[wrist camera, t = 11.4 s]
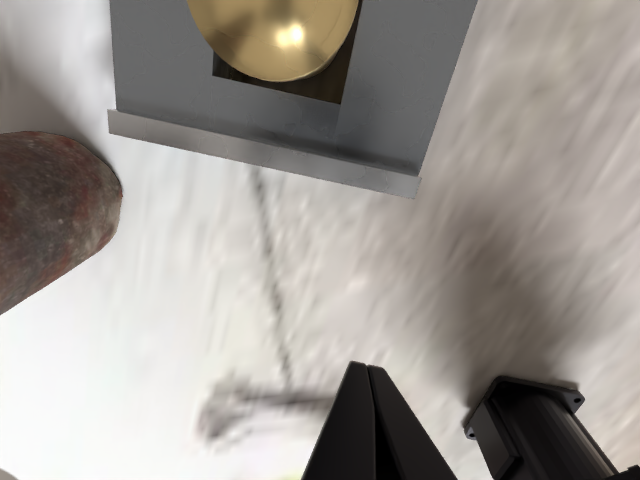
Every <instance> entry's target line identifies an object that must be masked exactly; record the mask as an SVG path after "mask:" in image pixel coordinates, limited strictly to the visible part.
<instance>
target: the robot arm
mask: <svg viewBox="0 0 640 480" xmlns="http://www.w3.org/2000/svg"><path fill="white" fill-rule="evenodd" d="M584 401H585V398H584V396H583V395H582V394H581V393H580V392H579V391H575V390H570V389H565V388H560V387H555V386H550V385H545V384H540V383H535V382H530V381H525V380H520V379H515V378H510V377H505V376H500V377H497V378H496V379H495V380H494V381H493V383H492V385H491V386H490V388H489V390H488V391H487V393H486V394H485V396H484V398H483V399H482V401H481V403H480V404H479V406H478V408H477V409H476V411H475V413H474V414H473V416H472V417H471V419H470V421H469V422H468V424H467V426H466V427H465V429H464V433H465V435H466V437H467V438H468V439H471V440H477V442H478V444H479V447H480V449H481V452H482V454H483V457H484V459H485V461H486V464H487V466H488V469H489V471H490V474H491V476H492V478H493V479H494V480H640V467H639V466H638V465H634V466H631V467H628V470H627V471H624V472H621V473H619V472H618V471H617V469H616V468H615V467H614V465H613V464H612V463H611V461H610V460H609V459H608V458H607V456H606V455H605V454H604V452H603V451H602V450H601V448H600V447H599V446H598V444H597V443H596V442H595V440H594V439H593V438H592V437H591V435H590V434H589V433H588V431H587V430H586V429H585V427H584V426H583V425H582V423H581V422H580V421H579V419H578V418H577V417H576V416H575V412H576V411H577V410H578V409H579V407H580V406H581V405H582V404H583V402H584ZM301 480H458V479H457V478H456V476H455V475H454V473H453V472H452V470H451V469H450V467H449V466H448V464H447V463H446V461H445V460H444V458H443V457H442V455H441V454H440V452H439V451H438V449H437V448H436V446H435V445H434V443H433V442H432V440H431V439H430V437H429V435H428V434H427V432H426V431H425V429H424V428H423V426H422V425H421V423H420V422H419V420H418V419H417V417H416V416H415V414H414V413H413V411H412V410H411V408H410V407H409V405H408V404H407V402H406V401H405V399H404V398H403V396H402V395H401V393H400V392H399V390H398V389H397V387H396V386H395V384H394V383H393V381H392V380H391V378H390V377H389V375H388V374H387V372H386V371H385V369H383V368H382V367H378V366H374V365H367V366H366V364H364V363H360V362H356V361H350V362H349V364H348V367H347V369H346V372H345V374H344V376H343V379H342V381H341V384H340V386H339V389H338V391H337V393H336V396H335V398H334V401H333V403H332V406H331V408H330V410H329V413H328V415H327V418H326V420H325V423H324V425H323V427H322V430H321V432H320V435H319V437H318V439H317V442H316V444H315V447H314V449H313V452H312V454H311V456H310V459H309V461H308V464H307V466H306V469H305V471H304V473H303V476H302V478H301Z"/></svg>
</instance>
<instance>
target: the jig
mask: <svg viewBox="0 0 640 480" xmlns="http://www.w3.org/2000/svg"><path fill="white" fill-rule="evenodd" d="M477 1H478V0H363V1H362V6H361V10H360V15H359V20H358V24H357V29H356V34H355V39H354V43H353V48H352V53H351V57H350V62H349V67H348V71H347V76H346V81H345V85H344V90H343V95H342V100H341V104H336V103H331V102H327V101H323V100H318V99H314V98H309V97H305V96H300V95H296V94H291V93H287V92H283V91H278V90H274V89H269V88H265V87H260V86H256V85H252V84H247V83H243V82H238V81H234V80H231V70H232V66H230V65H229V64H228V63H227V62H225V61H224V60H223V59H222V58H221V57H220V56H219V55H218V54H217V53H216V52H215V51H214V50H213V49H212V48H211V47H210V45H209V44H208V43H207V41H206V40H205V39H204V37H203V36H202V34H201V32H200V31H199V29H198V27H197V25H196V23H195V21H194V19H193V17H192V14H191V12H190V9H189V6H188V3H187V0H110V15H111V30H112V46H113V62H114V78H115V94H116V109H107V111H108V124H109V133H110V134H114V135H119V136H124V137H128V138H133V139H138V140H142V141H147V142H151V143H156V144H161V145H165V146H170V147H175V148H179V149H184V150H188V151H193V152H198V153H202V154H207V155H212V156H216V157H221V158H225V159H230V160H235V161H239V162H244V163H248V164H253V165H258V166H262V167H267V168H272V169H276V170H281V171H285V172H290V173H295V174H299V175H304V176H309V177H313V178H318V179H322V180H327V181H332V182H336V183H341V184H346V185H350V186H355V187H359V188H364V189H369V190H373V191H378V192H383V193H387V194H392V195H396V196H401V197H406V198H410V199H415V196H416V193H417V190H418V187H419V184H420V181H421V177H420V176H419V172H420V169H421V166H422V163H423V160H424V157H425V154H426V151H427V148H428V145H429V142H430V139H431V137H432V134H433V131H434V128H435V125H436V122H437V119H438V116H439V113H440V110H441V107H442V104H443V101H444V98H445V95H446V92H447V89H448V86H449V83H450V80H451V77H452V75H453V72H454V69H455V66H456V63H457V60H458V57H459V54H460V51H461V48H462V45H463V42H464V39H465V36H466V33H467V30H468V27H469V24H470V21H471V18H472V15H473V13H474V10H475V7H476V4H477Z"/></svg>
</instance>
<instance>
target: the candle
mask: <svg viewBox="0 0 640 480" xmlns="http://www.w3.org/2000/svg"><path fill="white" fill-rule="evenodd" d="M122 197H123V195H122V190H121V186H120V183H119V181H118V180H117V178H116V176H115V175H114V173H113V172H112V171H111V169H110V168H109V167H108V166H107V165H106V164H105V163H104V162H103V161H101V160H100V159H99V158H98V157H96V156H95V155H94V154H93V153H91V152H90V151H89V150H88V149H87V148H85V147H84V146H83V145H81V144H80V143H78V142H77V141H75V140H73V139H70V138H67V137H64V136H60V135H54V134H48V133H44V132H32V131H23V132H14V133H5V134H0V315H1V314H3V313H5V312H6V311H8V310H9V309H11V308H12V307H14V306H15V305H17V304H19V303H20V302H22V301H23V300H25V299H26V298H28V297H29V296H31V295H33V294H34V293H36V292H38V291H39V290H41V289H43V288H44V287H46V286H47V285H49V284H50V283H52V282H53V281H55V280H56V279H58V278H60V277H61V276H63V275H64V274H66V273H67V272H69V271H70V270H72V269H73V268H75V267H76V266H78V265H79V264H81V263H82V262H84V261H85V260H87V259H88V258H89V257H91V256H93V255H94V254H96V253H97V252H99V251H100V250H101V249H102V248H103V247H104V246H105V245H106V244H107V243H108V242H109V241H110V240H111V239H112V237H113V236H114V235H115V233H116V231H117V227H118V223H119V215H120V207H121V199H122Z"/></svg>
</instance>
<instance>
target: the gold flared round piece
mask: <svg viewBox="0 0 640 480" xmlns="http://www.w3.org/2000/svg"><path fill="white" fill-rule="evenodd" d="M358 1H359V0H187V3H188V6H189V9H190V12H191V14H192V17H193V19H194V21H195V23H196V25H197V27H198V29H199V31H200V32H201V34H202V36H203V37H204V39H205V40H206V41H207V43H208V44H209V45H210V47H211V48H212V49H213V50H214V51H215V52H216V53H217V54H218V55H219V56H220V57H221V58H222V59H223V60H224V61H225V62H227V63H228V64H229V65H230V66H232V67H234V68H235V69H237V70H238V71H240V72H242V73H245V74H247V75H249V76H252V77H255V78H258V79H262V80H265V81H272V82H287V81H294V80H302V79H307V78H311V77H313V76H315V75H317V74H319V73H320V72H322V71H323V70H324V69H325V68H327V67H328V65H329V64H330V63H331V62H332V61H333V59H334V58H335V56H336V54H337V52H338V50H339V49H340V47H341V46H342V44H343V43H344V41H345V39H346V37H347V35H348V33H349V31H350V29H351V26H352V24H353V21H354V18H355V14H356V10H357V6H358Z"/></svg>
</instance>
